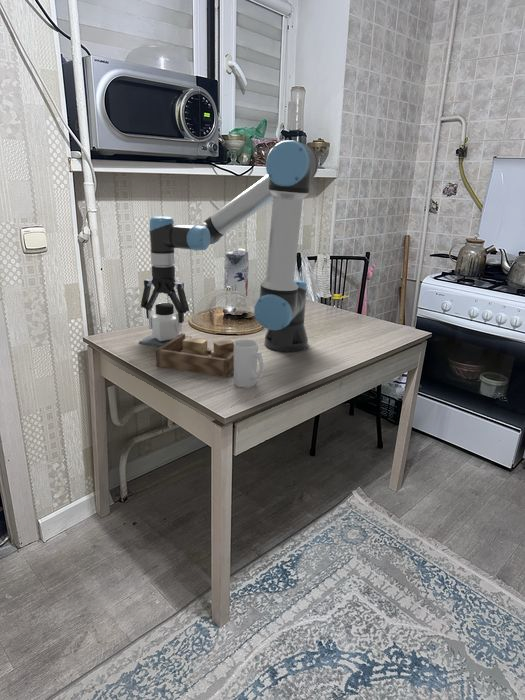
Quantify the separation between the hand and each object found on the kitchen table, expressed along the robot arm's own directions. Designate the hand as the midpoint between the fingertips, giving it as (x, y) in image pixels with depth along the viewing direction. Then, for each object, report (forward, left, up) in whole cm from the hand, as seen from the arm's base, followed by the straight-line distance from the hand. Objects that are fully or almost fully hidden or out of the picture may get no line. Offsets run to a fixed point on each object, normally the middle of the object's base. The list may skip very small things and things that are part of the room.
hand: (165, 329), depth 165 cm
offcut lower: (-25, +8, -4) cm, 27 cm away
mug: (-39, +24, -4) cm, 46 cm away
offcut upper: (-25, +8, -1) cm, 27 cm away
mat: (0, 0, -4) cm, 4 cm away
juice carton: (-10, -43, -4) cm, 44 cm away
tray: (-20, +13, -4) cm, 24 cm away
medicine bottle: (0, 0, -3) cm, 3 cm away
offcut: (-15, +8, -4) cm, 17 cm away
